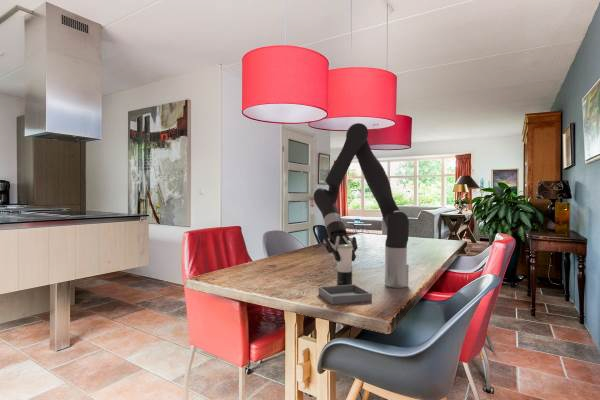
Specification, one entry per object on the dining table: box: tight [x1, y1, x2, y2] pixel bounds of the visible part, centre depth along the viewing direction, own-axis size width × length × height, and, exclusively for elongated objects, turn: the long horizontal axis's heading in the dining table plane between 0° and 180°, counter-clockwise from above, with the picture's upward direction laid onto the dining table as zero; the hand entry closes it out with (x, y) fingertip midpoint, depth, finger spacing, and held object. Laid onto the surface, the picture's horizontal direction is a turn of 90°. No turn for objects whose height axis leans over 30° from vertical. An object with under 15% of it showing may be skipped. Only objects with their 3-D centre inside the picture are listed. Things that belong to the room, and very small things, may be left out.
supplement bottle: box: [336, 270, 353, 286], centre depth 152 cm, size 7×7×12 cm
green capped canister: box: [336, 244, 353, 272], centre depth 133 cm, size 6×6×10 cm
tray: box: [318, 283, 373, 306], centre depth 133 cm, size 16×14×3 cm
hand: (346, 260), depth 132 cm, fingers closed on green capped canister, 5 cm apart
